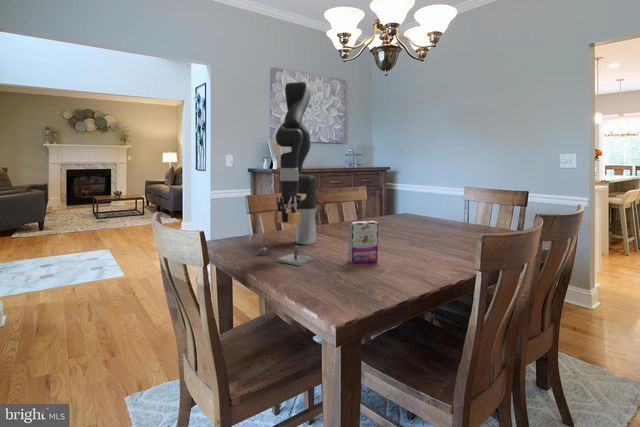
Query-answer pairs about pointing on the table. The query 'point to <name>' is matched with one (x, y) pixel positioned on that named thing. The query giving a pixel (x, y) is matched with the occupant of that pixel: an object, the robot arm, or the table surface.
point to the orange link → (290, 218)
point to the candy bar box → (363, 242)
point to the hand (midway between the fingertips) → (289, 221)
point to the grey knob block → (264, 252)
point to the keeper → (296, 258)
